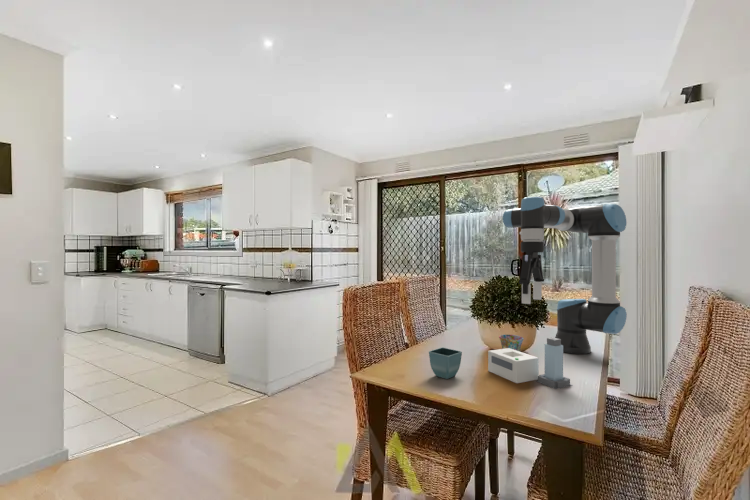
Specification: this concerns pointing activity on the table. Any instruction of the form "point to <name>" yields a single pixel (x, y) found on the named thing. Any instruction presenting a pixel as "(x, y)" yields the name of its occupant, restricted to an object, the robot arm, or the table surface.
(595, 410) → the table surface
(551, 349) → the plug
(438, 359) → the flower pot
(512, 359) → the port panel
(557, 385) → the holster
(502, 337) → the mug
